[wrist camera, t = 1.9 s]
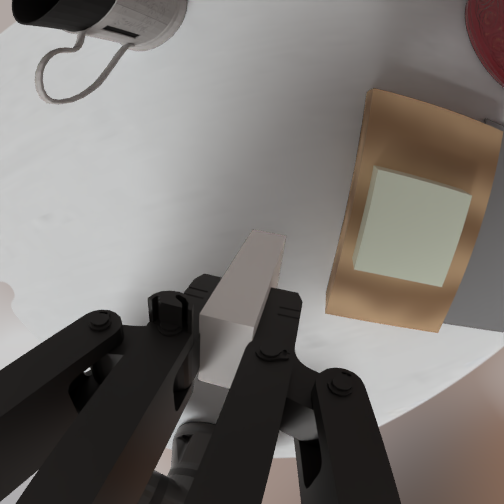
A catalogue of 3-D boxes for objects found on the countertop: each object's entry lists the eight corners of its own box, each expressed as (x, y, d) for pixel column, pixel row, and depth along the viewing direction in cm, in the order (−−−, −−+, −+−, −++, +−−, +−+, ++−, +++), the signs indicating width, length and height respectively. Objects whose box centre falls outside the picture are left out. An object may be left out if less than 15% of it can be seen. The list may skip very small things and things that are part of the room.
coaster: (434, 275, 25) (441, 287, 23) (352, 257, 26) (353, 269, 24) (461, 189, 22) (472, 195, 20) (373, 165, 23) (378, 169, 21)
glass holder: (193, -25, 22) (108, -90, 9) (172, 102, 28) (63, 105, 15) (121, -15, 23) (23, -51, 10) (102, 101, 29) (-9, 112, 16)
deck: (428, 310, 31) (437, 332, 27) (326, 291, 33) (325, 313, 29) (483, 128, 22) (503, 131, 19) (366, 92, 24) (373, 88, 21)
